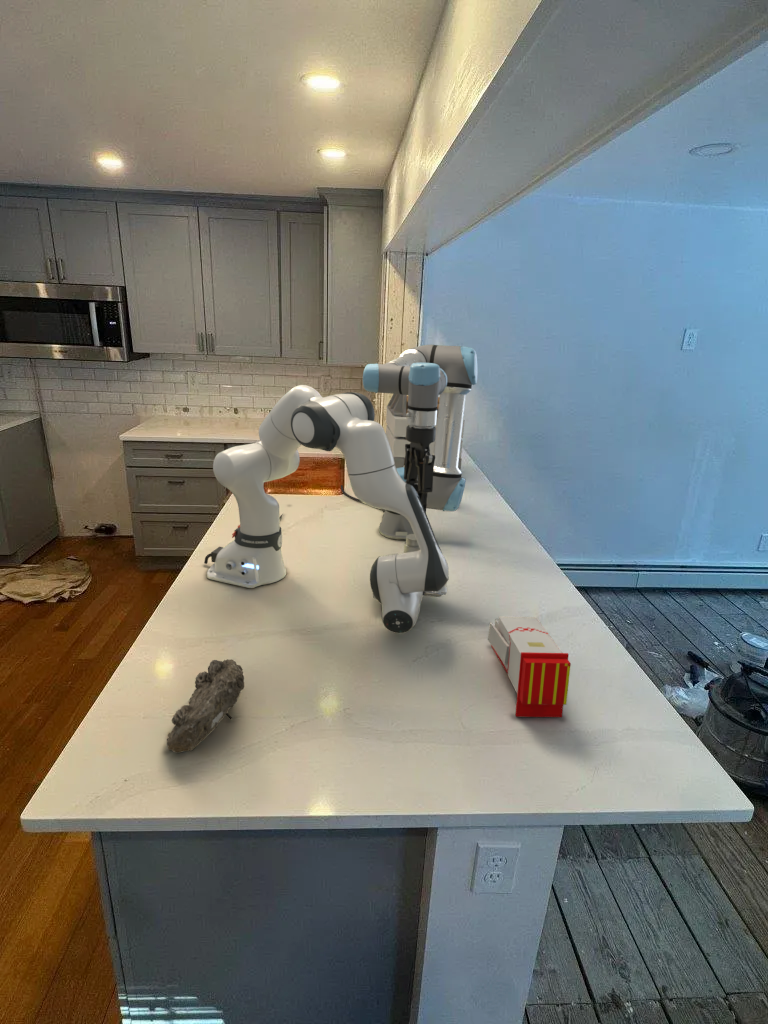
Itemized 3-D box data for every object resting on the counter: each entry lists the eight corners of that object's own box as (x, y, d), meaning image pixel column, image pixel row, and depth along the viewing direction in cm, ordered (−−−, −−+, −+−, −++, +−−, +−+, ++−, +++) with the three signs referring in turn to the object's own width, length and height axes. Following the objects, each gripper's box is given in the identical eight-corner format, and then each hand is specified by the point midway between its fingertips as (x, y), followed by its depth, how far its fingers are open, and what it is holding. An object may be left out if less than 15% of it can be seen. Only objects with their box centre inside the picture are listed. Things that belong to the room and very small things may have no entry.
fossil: (192, 660, 117) (244, 628, 112) (224, 691, 120) (276, 661, 115) (142, 746, 98) (202, 712, 93) (182, 779, 101) (242, 748, 96)
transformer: (382, 463, 289) (386, 382, 275) (445, 464, 293) (451, 384, 279) (390, 482, 257) (394, 392, 243) (460, 483, 261) (468, 394, 247)
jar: (417, 586, 163) (421, 533, 157) (421, 594, 158) (424, 540, 152) (400, 587, 162) (403, 533, 156) (403, 595, 157) (406, 540, 152)
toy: (534, 602, 136) (579, 659, 107) (529, 653, 139) (572, 723, 110) (484, 601, 136) (516, 658, 107) (480, 652, 139) (510, 722, 109)
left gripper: (447, 584, 143) (450, 562, 156) (367, 576, 146) (377, 554, 159) (445, 606, 145) (448, 582, 158) (367, 597, 148) (376, 575, 161)
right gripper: (393, 419, 151) (389, 501, 159) (423, 434, 135) (417, 525, 143) (419, 418, 153) (414, 499, 161) (451, 433, 137) (443, 522, 145)
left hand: (412, 568), depth 159 cm, fingers closed on jar, 5 cm apart
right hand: (415, 511), depth 152 cm, fingers closed on lid, 5 cm apart
